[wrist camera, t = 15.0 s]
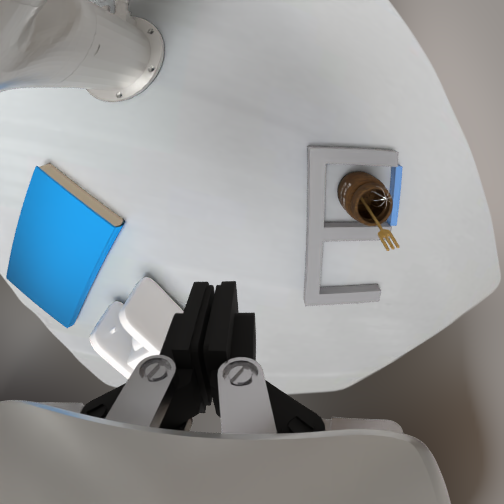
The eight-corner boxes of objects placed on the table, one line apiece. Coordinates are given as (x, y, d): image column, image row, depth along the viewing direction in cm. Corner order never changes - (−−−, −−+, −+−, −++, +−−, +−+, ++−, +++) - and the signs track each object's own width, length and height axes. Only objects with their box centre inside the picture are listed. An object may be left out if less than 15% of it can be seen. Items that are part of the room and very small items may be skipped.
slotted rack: (307, 146, 37) (310, 147, 35) (398, 150, 36) (404, 152, 34) (303, 298, 47) (305, 305, 45) (380, 294, 46) (384, 300, 44)
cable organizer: (210, 333, 50) (200, 384, 40) (168, 355, 53) (153, 402, 42) (148, 269, 45) (121, 314, 35) (110, 300, 48) (82, 343, 37)
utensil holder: (372, 165, 37) (412, 187, 27) (379, 208, 40) (417, 242, 29) (332, 175, 38) (359, 200, 27) (341, 218, 41) (368, 256, 30)
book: (6, 278, 43) (33, 166, 34) (18, 267, 47) (49, 160, 38) (70, 331, 47) (116, 230, 38) (80, 317, 51) (128, 219, 42)
